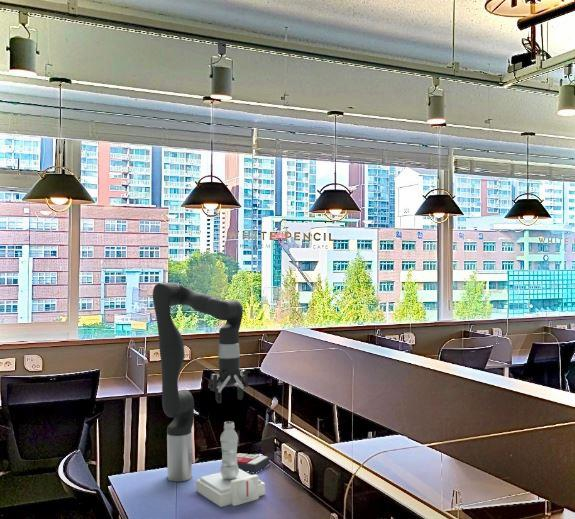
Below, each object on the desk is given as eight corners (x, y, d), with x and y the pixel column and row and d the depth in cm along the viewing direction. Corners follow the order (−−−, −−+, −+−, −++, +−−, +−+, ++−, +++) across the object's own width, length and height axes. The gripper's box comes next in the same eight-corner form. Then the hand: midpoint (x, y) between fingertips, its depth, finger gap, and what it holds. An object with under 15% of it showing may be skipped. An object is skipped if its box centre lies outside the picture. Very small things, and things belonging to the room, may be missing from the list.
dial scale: (196, 490, 216) (196, 468, 216) (239, 479, 226) (238, 458, 226) (224, 509, 199) (224, 485, 199) (269, 497, 209) (269, 474, 209)
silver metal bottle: (241, 476, 216) (241, 420, 216) (234, 482, 209) (233, 425, 210) (225, 474, 218) (224, 419, 218) (217, 481, 211) (216, 424, 212)
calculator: (238, 452, 250) (269, 455, 243) (238, 462, 250) (270, 465, 243) (223, 459, 240) (255, 463, 233) (224, 470, 240) (256, 474, 233)
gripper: (240, 352, 221) (241, 396, 221) (206, 356, 213) (207, 402, 213) (251, 355, 215) (252, 400, 215) (216, 359, 207) (217, 405, 207)
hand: (229, 401), depth 214 cm, fingers open, 8 cm apart
